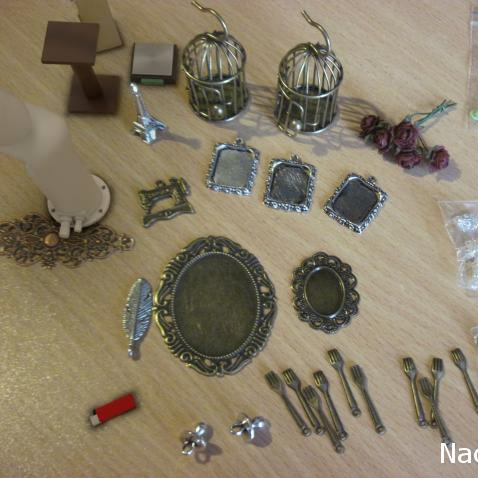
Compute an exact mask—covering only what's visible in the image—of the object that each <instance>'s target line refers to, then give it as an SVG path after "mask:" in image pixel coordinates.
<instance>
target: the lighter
mask: <svg viewBox="0 0 478 478" xmlns="http://www.w3.org/2000/svg"><path fill="white" fill-rule="evenodd" d="M136 407H137V405H136V402H135V400H134V397H133V394H132V393H131V392H130V393H128V394H125V395H123V396H121V397H119V398H116V399H114V400H112V401H110V402H107V403H105V404H103V405H101V406H99V407H97V408H95V409H93V410H92V415H90V417H89V419H90V422H91V424H92V426H93V427H95V426H98V425H99V424H102V423H105V422H106V421H109V420H111V419H113V418H115V417H118V416H119V415H122V414H124V413H126V412H127V411H130V410H133V409H135V408H136Z"/></svg>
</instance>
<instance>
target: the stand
mask: <svg viewBox="0 0 478 478" xmlns="http://www.w3.org/2000/svg"><path fill="white" fill-rule="evenodd" d="M99 30H100V25H99V23H82V22H80V21H79V22H78V21H58V20H56V21H55V20H48V21H47V23H46V30H45V36H44V41H43V46H42V50H41V51H42V52H41V58H40V62H41V64H42V65H57V66H58V65H59V66H61V65H62V66H63V65H64V66H70V68H71V70H72V72H73V74H72V81H71V83H72V84H71V88H70V94H69V96H70V97H69V102H68V107H67V111H68V114H91V115H93V114H96V115H116V106H117V98H118V89H119V82H120V77H119V75H107V74H96V73H95V70H94V68H93V67H95V66H96V58H97V53H98V52H97V44H98V37H99Z"/></svg>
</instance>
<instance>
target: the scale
mask: <svg viewBox="0 0 478 478" xmlns="http://www.w3.org/2000/svg"><path fill="white" fill-rule="evenodd" d="M132 47H133V48H132V55H131V56H132V57H131V63H130V66H131V67H130V73H129V74H130V75H129V78H130V81H131V83H141V85H149V86H164V85H165V84H168V85H169V84H170V85H171V84H172V85H175V84H176V76H177V61H178V45H177V44H174V43H155V42H133V46H132ZM133 81H134V82H133Z"/></svg>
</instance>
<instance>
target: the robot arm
mask: <svg viewBox="0 0 478 478" xmlns="http://www.w3.org/2000/svg"><path fill="white" fill-rule="evenodd" d="M71 131H72V130H71V127H70V125H69V122H68V121H67V120H66V119H65V118H64V117H63V116H62V115H60V114H59V113H57V112H56V111H54V110H51V109H49V108H47V107H45V106H42V105H38V104H35V103H33V102H29V101H26V100H24V99H21V98H20V97H19V96H17V95H16V94H15V93H14V92H13V91H11V90H9V89H8V88H7V87H4V86H1V85H0V153H1V154H4V155H6V156H9V157H11V158H14V159H17V160H20V161H22V162H23V165H24V170H25V172H26V174H27V175H28V176H29V178H30V179H31V180H32V181H33V182H34V184H35V185H36V186H37V187H38V189H39V190H40V191H41V192H42V194H43V195H44V196H45V197H46V198H47V201H46V202H47V209H48V213H49V214H50V215H51V217H52V218H53V219H54V220H55V221H56V222H57V223H59V224H60V227H59V233H58V237H60V238H63V239H69V238H70V235H71V228H72V229H73V231H74V232H75V233H81V232H82V229H83V228H86V227H89V226H92V225H94V224H96V223H98V222H99V221H100V220H101V219H102V218H103V217H104V216H105V215H106V213H108V210H109V208H110V206H111V205H110V204H111V192H110V190H109V187H108V185H107V184H106V183H105V181H104V180H103V179H101V177H99V176H97V175H95V174H93V173H91V171H90V169H89V168H88V166H87V165H86V163H85V162H84V160H83V158H82V156H81V155H80V153H79V151H78V149H77V147H76V146H75V143H74V141H73V137H72V132H71Z"/></svg>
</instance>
